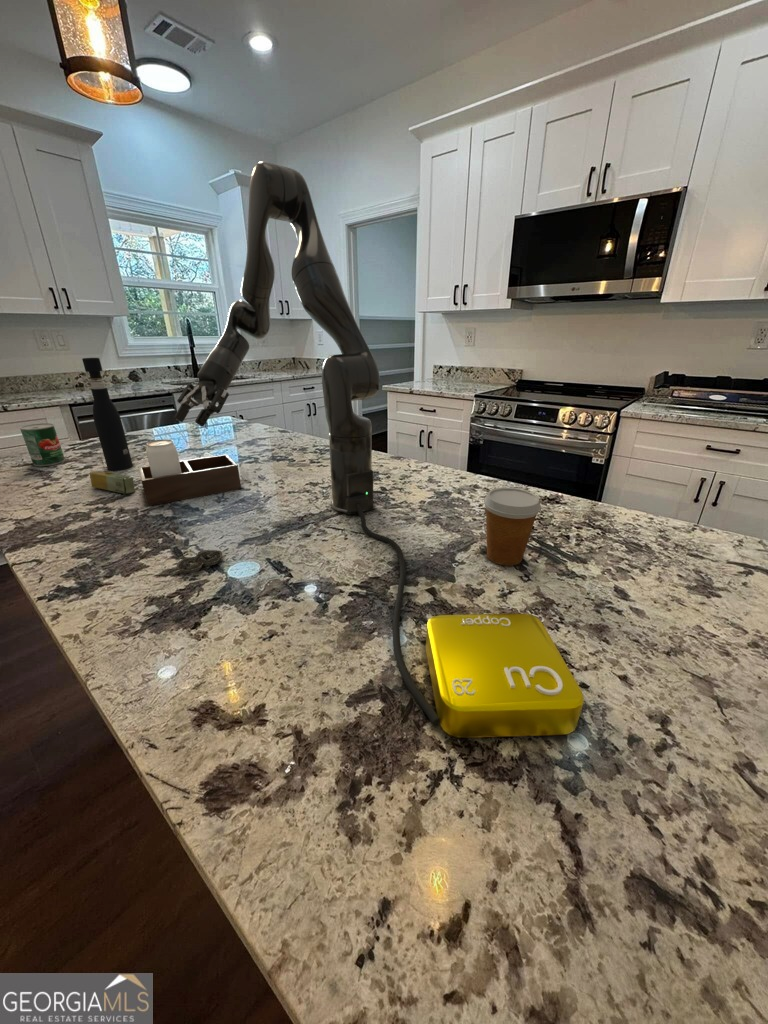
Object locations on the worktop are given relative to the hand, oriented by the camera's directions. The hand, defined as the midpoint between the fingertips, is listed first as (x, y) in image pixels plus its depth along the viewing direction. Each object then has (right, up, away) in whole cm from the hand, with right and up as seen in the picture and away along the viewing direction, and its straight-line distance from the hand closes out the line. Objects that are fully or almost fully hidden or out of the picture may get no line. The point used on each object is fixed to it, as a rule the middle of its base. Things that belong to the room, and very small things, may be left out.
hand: (188, 422), depth 103 cm
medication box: (-20, -17, +3) cm, 26 cm away
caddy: (0, -17, +3) cm, 17 cm away
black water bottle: (-29, -9, +19) cm, 36 cm away
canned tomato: (-53, -7, +23) cm, 58 cm away
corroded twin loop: (+16, -32, -29) cm, 46 cm away
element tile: (+62, -43, -53) cm, 92 cm away
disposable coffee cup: (+71, -31, -26) cm, 81 cm away
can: (-5, -17, 0) cm, 17 cm away
